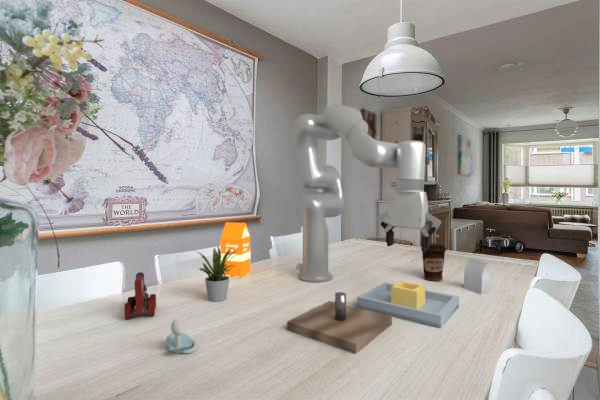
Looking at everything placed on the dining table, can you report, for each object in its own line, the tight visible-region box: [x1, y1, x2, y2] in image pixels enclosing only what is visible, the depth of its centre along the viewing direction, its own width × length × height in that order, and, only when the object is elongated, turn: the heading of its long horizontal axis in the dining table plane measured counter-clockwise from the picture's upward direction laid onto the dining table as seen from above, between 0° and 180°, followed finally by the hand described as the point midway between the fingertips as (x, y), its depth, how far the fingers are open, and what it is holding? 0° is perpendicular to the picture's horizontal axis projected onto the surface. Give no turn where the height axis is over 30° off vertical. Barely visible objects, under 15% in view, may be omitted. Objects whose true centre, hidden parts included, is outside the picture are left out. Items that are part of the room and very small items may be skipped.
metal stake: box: [334, 291, 347, 321], centre depth 78 cm, size 3×3×6 cm
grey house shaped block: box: [463, 257, 491, 295], centre depth 107 cm, size 4×7×10 cm, turn 20°
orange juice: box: [220, 221, 251, 278], centre depth 126 cm, size 8×9×20 cm
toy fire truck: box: [123, 271, 157, 320], centre depth 87 cm, size 7×12×10 cm, turn 21°
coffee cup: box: [421, 242, 447, 282], centre depth 120 cm, size 9×8×13 cm
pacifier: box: [165, 319, 199, 354], centre depth 68 cm, size 7×6×6 cm
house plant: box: [195, 244, 243, 303], centre depth 97 cm, size 14×14×16 cm
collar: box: [391, 280, 426, 309], centre depth 91 cm, size 7×7×5 cm
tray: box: [356, 282, 460, 329], centre depth 91 cm, size 22×18×3 cm
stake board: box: [286, 300, 393, 354], centre depth 78 cm, size 18×18×2 cm
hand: (406, 248), depth 91 cm, fingers open, 9 cm apart
